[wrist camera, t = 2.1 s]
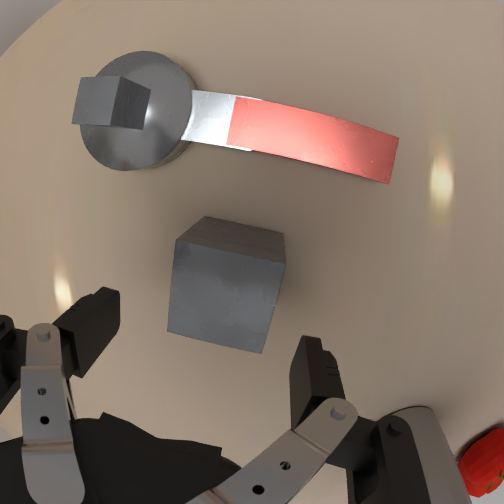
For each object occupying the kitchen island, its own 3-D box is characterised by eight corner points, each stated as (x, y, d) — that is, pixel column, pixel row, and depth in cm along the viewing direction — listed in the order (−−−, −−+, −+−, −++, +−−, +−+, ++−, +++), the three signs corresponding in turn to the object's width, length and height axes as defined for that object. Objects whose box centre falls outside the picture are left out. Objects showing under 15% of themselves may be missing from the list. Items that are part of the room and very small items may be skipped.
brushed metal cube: (283, 233, 21) (285, 264, 15) (266, 304, 22) (261, 353, 16) (204, 216, 21) (175, 240, 15) (193, 288, 22) (167, 331, 17)
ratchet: (95, 162, 20) (34, 169, 13) (114, 63, 17) (59, 39, 11) (366, 215, 20) (406, 243, 13) (390, 107, 17) (439, 88, 11)
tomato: (483, 457, 29) (499, 492, 21) (437, 468, 29) (452, 510, 21) (519, 415, 26) (541, 451, 17) (477, 424, 26) (500, 469, 18)
